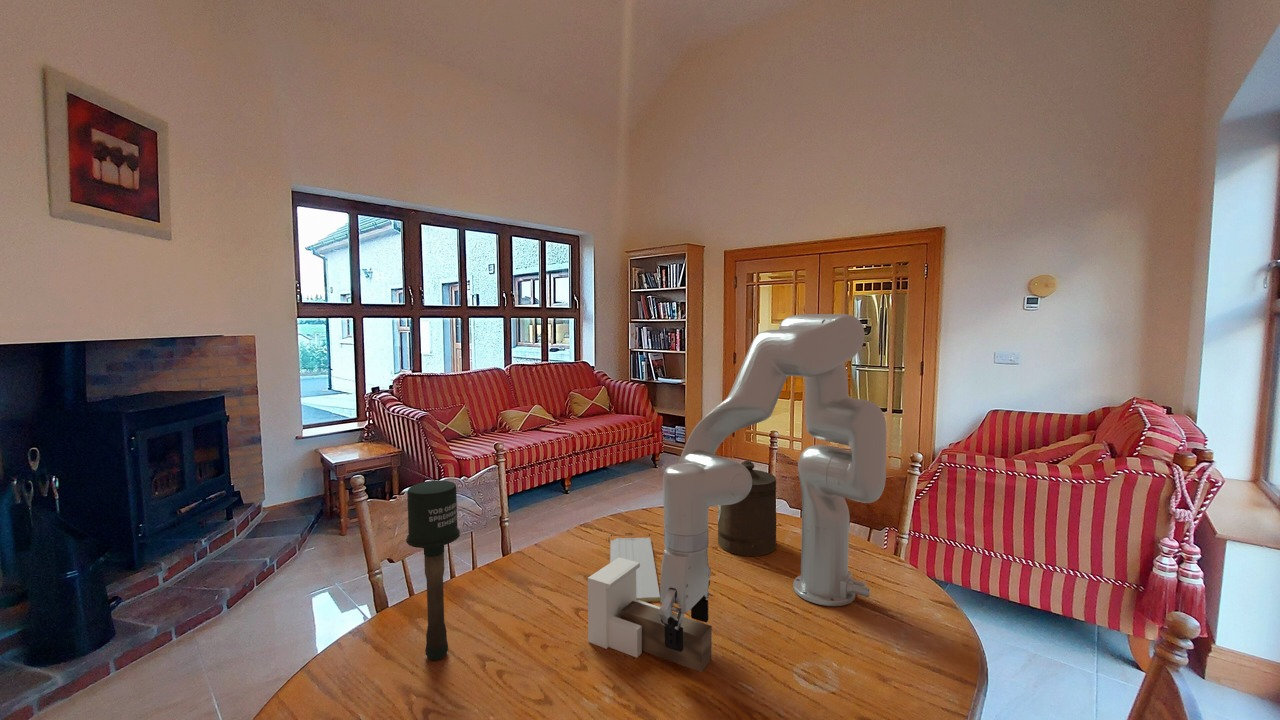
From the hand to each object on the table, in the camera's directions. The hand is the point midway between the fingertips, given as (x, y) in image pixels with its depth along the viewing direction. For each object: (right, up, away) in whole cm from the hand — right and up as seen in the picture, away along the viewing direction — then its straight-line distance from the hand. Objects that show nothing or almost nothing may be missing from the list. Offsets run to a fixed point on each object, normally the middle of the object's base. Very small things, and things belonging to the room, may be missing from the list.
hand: (687, 633), depth 93 cm
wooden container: (+20, -1, +47) cm, 51 cm away
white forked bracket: (-11, -4, +6) cm, 13 cm away
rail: (-4, -4, +2) cm, 6 cm away
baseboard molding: (-11, -3, +34) cm, 36 cm away
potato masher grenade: (-44, -4, +1) cm, 44 cm away
